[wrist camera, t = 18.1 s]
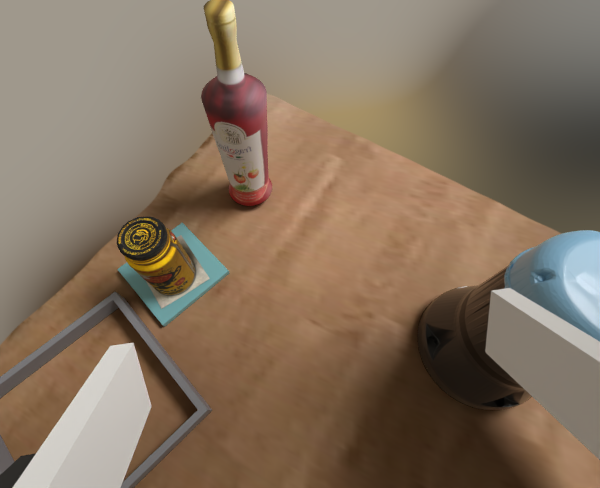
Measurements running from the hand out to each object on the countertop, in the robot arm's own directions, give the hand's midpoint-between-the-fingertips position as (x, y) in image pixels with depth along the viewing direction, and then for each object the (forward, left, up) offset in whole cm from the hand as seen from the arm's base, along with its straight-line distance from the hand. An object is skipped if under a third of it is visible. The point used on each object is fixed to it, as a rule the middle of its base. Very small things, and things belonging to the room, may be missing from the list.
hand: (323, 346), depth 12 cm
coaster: (+1, -24, -33) cm, 41 cm away
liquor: (-16, -27, -33) cm, 45 cm away
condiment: (+1, -24, -32) cm, 40 cm away
